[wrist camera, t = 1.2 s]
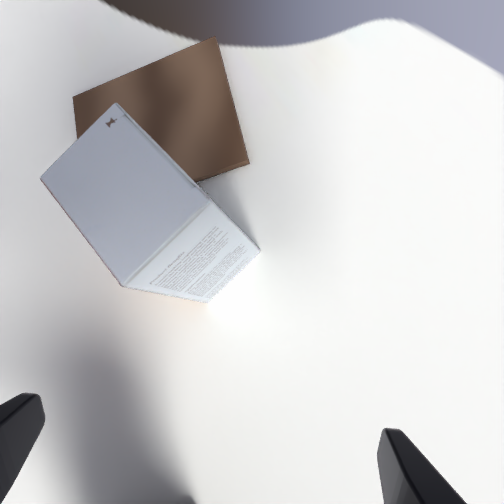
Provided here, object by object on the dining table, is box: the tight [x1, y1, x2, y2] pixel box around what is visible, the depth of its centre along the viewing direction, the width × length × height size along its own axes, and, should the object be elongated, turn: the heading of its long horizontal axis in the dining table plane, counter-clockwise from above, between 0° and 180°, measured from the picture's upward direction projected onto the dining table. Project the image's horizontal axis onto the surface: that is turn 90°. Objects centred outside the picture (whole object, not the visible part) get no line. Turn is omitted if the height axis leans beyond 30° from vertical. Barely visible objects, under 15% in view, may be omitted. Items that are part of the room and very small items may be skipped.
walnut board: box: [73, 36, 250, 183], centre depth 29 cm, size 14×12×1 cm
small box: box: [40, 103, 260, 303], centre depth 21 cm, size 8×6×10 cm
